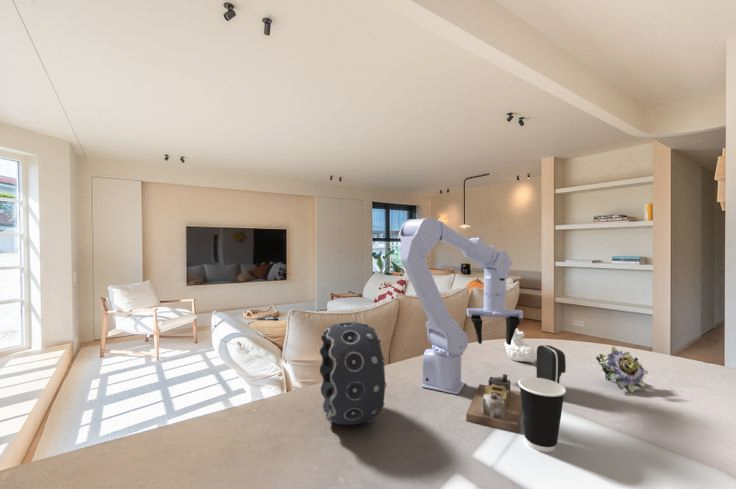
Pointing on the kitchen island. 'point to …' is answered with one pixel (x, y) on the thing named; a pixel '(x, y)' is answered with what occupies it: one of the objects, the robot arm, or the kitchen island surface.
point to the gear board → (497, 420)
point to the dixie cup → (541, 411)
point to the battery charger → (550, 363)
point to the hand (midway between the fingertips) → (493, 343)
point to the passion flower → (623, 369)
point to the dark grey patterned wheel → (352, 373)
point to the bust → (520, 348)
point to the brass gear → (501, 391)
